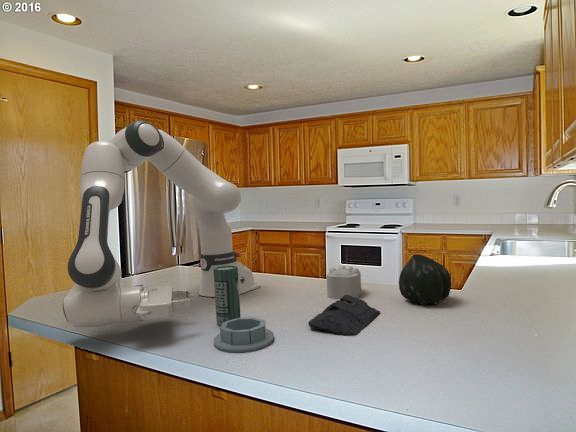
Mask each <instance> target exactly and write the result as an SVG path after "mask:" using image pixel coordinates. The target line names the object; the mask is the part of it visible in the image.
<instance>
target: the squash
mask: <svg viewBox="0 0 576 432" xmlns="http://www.w3.org/2000/svg"><path fill="white" fill-rule="evenodd" d="M412 254H413V253H412ZM398 278H399V279H398V288H399V291H400V294H401V297H403V298H404V299H406V300H407V301H409V302H410V303H413V304H421V305H424V306H425V305H428V304H430V305H433V306H434V305H437V304H439V303H440V302H441V301H443V300H446V299H447V298H448V297H449V296H450V293H451V287H452V278H451V274H450V272H449V270H448V269H447V268H446V267H445V265H443V264H441V263H439V262H438V261H436V260H435V259H432V258H430V257H428V256H426V255H422V254H418V253H414V254H413V255H411V257H410V258H409V260H408V261H407V263H406V264H405V265H404V266H403V268H402V270H401V272H400V275H399V277H398Z"/></svg>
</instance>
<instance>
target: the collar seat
mask: <svg viewBox="0 0 576 432" xmlns="http://www.w3.org/2000/svg"><path fill="white" fill-rule="evenodd" d="M266 327H267V326H266V320H265V319H262V318H260V317H259V318H258V317H253V316H252V317H251V316H250V317H241V318H238V319H237V318H235V319H232V320H229V321H226V322H224V323H222V325H221V326H219V330H220V331H219V332H220V333H218V334H216V335H215V337H214V338H213V346H214V347H215V349H216V350H218V351H221V352H225V353H235V354H236V353H238V354H239V353H240V354H241V353H250V352H256V351H259V350H262V349H265V348H267V347H269V346H270V345H272V344H273V342H274V341H275V336H274V332H273V331H272V330H271V329H268V328H266Z"/></svg>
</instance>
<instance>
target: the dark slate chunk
mask: <svg viewBox="0 0 576 432" xmlns="http://www.w3.org/2000/svg"><path fill="white" fill-rule="evenodd" d="M379 316H381V311H380V310H377V309H376V308H375V307H371V306H370V305H368V303H367V302H366V301H365V300H364V299H362V298H359V297H358V298H355V297H352V296H350V295H344V296H343V297H342V298H340V299H339V300H336V301H334V302H332V303H331V304H329V305H328V306H327V307H325V309H323V310H322V312H321V313H318V314H317V315H315V316H314V318H312V319H310V320H308V322H307V323H308V326H309V327H310V329H316V330H322V331H327V332H330V333H334V334H338V335H341V336H351V337H352V336H354V337H356V336H358V335H359V334H360V333H361V332H362V331H364V330H365V329H366V328H368V326H369V325H371V323H373V322H374V321H375V320H376V319H377V317H379Z"/></svg>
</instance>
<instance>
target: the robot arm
mask: <svg viewBox="0 0 576 432" xmlns="http://www.w3.org/2000/svg"><path fill="white" fill-rule="evenodd" d="M146 161H147V162H150V163H151V164H152V165H153V166H154V167H155V168H156V169H157V170H158V171H159V172H160V173H161V174H163V175H164V177H166V178H167V179H168V180H169V181H170V182H172V184H173V185H175V186H176V187H177V188H178V189H180V190H183V191H184V192H186V193H188V196H187V199H188V204H189V206H190V207H191V208H192V210H193V213H194V217H195V220H196V223H197V227H198V232H199V244H200V253H199V264H200V269H201V277H200V278H201V279H200V286H199V291H198V295H200V296H203V297H209V298H210V297H213V298H215V287H214V271H213V269H214V268H216V267H221V266H237V267H238V283H239V295H241V294H245V293H246V292H250V291H252V290H257V289H258V288H261V283H259V282H258V281H255V279H254V275H253V271H252V270H251V269H250V268H249V267H247V266H245V265H244V264H243V263H241V262H240V261H239V260H238V258H242V257H243V255H244V254H243V252H242V251H236V252H235V251H234V250H233V234H232V228H231V227H230V225H229V224H228V222H227V220H226V217H225V216H226V215H225V214H227V213H229V212H233V211H234V210H236V209H237V208H238V207H239V206H240V204H241V200H242V196H241V191H240V189H239V188H238V185H237V186H236V184H234V183H232V182H230V181H228V180H226V179H224V178H222V176H220V175H218V173H215V172H214V171H212V170H211V169H210V168H208V167H207V166H205V165H204V164H202V163H201V162H200V161H199V160H198V159H197V158H196V157H195V156H194V155H193V154H191V152H190V151H189V150H187V148H185V147H184V146H183V145H182V144H181V143H180V142H179V141H178V140H177V139H175V138H174V137H173V136H171V135H170V134H168V133H167V132H165V131H164V130H162V129H158V128H157V127H156V126H155V125H153V124H152V123H150V122H149V121H146V120H136V121H134V122H131V123H129V124H128V125H127V126H125V127H123V128H122V129H120V130H119V131H118V132H117V133H116V134H115V135H114V136H113V137H112V138H111V139H110V140H109V141H102V140H100V141H94V142H92V143H90V144H89V145H88V146H87V147H86V148H85V151H84V154H83V158H82V162H81V168H80V178H79V179H80V181H79V185H80V186H79V188H80V189H79V191H80V201H81V209H80V219H79V228H78V238H77V242H76V245H75V247H74V249H73V251H72V253H71V255H70V256H69V259H68V262H67V273H68V276H69V277H70V278H69V279H71V281H72V282H74V284H73V286H72V287H71V289H70V291H69V292H68V294H67V295H66V296H65V297H64V298H63V301H62V310H63V315H64V318H65V320H66V322H67V323H68V324H69V325H71V326H72V327H74V328H95V327H105V326H108V325H110V324H111V325H112V324H131V323H137V322H139V323H140V322H143V321H144V320H158V319H159V320H160V319H167V318H170V317H172V316H173V311H179V310H181V309H184V308H188V307H189V308H190V307H192V305H193V304H192V299H191V296H192V295H191V290H189V289H187V290H186V289H184V290H182V289H174V287H173V285H168V284H167V285H146V286H145V285H144V284H137V285H134V286H126V287H120V288H119V285H120V286H121V278H122V268H121V266H120V263H119V262H118V261H117V260H116V258H115V256H114V254H113V253H112V251H111V249H110V247H109V242H108V241H109V239H108V236H109V220H110V219H109V218H110V214H111V211H112V210H114V209H116V208H118V207H119V206H120V204H122V202H123V196H124V191H125V174H126V173H129V172H130V171H132V170H133V169H136V168H138V167H140V166H141V165H142V164H144V163H145V162H146ZM181 298H183V299H181ZM177 299H180V300H177Z"/></svg>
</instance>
